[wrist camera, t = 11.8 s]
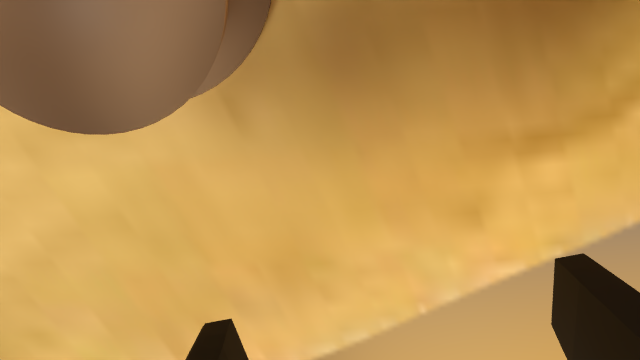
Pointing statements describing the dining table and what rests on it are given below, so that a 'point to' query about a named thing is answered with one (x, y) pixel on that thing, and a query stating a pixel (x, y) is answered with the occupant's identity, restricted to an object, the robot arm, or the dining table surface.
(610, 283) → the robot arm
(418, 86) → the dining table surface
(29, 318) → the dining table surface
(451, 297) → the dining table surface
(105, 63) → the spool post
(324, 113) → the dining table surface
